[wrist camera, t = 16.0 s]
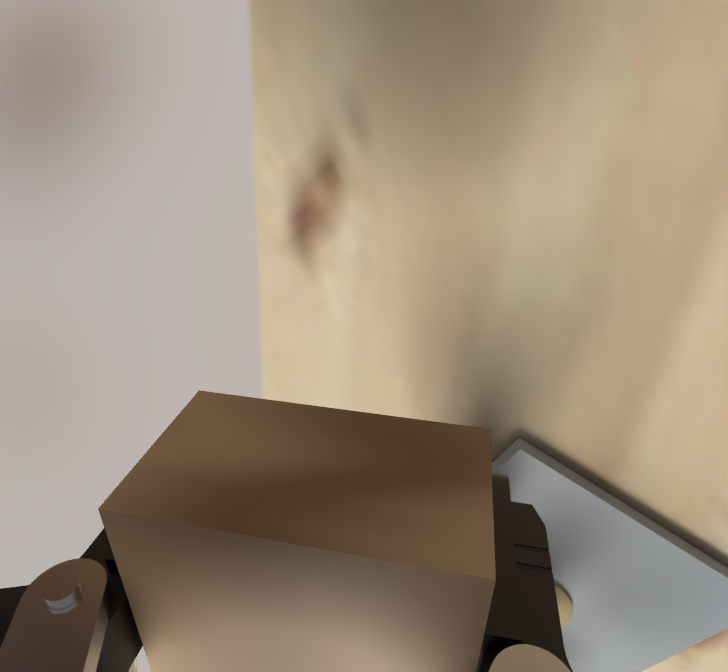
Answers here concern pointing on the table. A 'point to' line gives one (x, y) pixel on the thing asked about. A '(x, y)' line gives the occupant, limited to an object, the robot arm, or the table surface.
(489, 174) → the table surface
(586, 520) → the plate
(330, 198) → the table surface
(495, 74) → the table surface
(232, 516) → the tan squat block
